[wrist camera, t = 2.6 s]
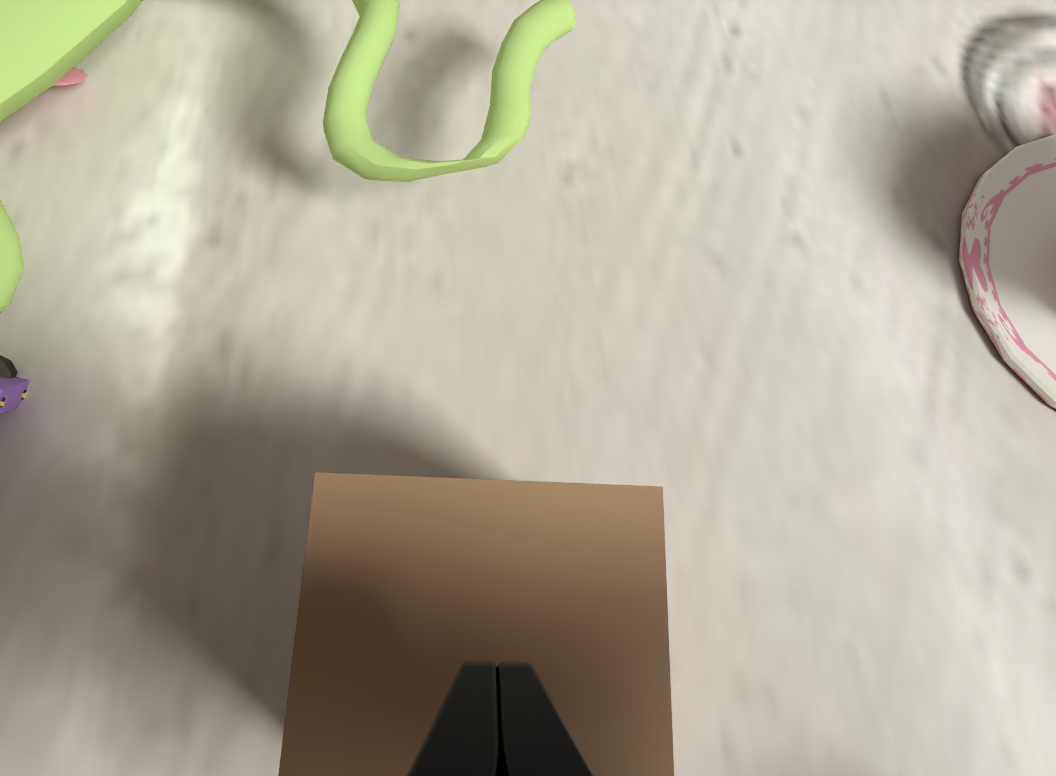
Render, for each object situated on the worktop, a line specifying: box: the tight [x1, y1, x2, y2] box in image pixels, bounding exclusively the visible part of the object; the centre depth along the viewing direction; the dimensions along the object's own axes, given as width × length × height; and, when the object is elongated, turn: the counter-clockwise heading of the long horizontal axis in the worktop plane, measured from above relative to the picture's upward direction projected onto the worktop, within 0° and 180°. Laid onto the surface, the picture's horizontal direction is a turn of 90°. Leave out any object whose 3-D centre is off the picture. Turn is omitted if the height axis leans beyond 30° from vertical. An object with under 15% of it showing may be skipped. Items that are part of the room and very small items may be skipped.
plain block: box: [279, 472, 674, 776], centre depth 15 cm, size 6×6×8 cm
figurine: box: [0, 0, 575, 414], centre depth 21 cm, size 18×27×6 cm
